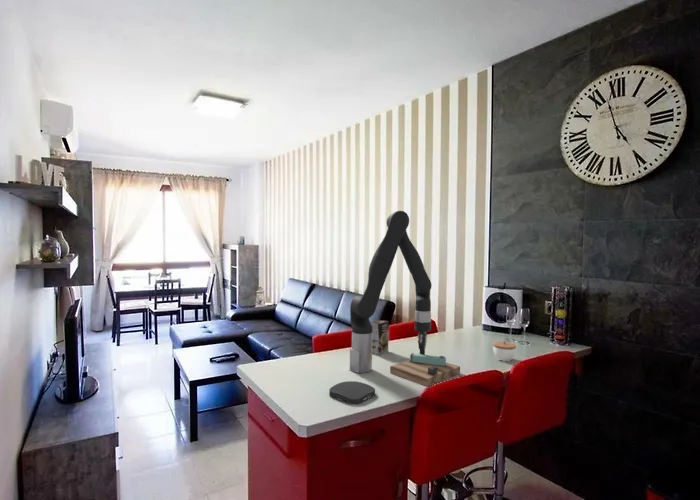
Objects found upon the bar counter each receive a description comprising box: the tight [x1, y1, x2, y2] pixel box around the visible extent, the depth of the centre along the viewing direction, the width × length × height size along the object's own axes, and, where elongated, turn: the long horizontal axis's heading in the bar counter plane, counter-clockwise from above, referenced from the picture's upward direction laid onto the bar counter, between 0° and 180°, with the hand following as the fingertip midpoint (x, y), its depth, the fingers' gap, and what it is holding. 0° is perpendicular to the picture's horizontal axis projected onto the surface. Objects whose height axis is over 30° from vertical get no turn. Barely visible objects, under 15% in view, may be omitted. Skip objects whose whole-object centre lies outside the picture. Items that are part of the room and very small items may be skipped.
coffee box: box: [370, 319, 390, 356], centre depth 202 cm, size 9×6×16 cm
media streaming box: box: [328, 380, 376, 405], centre depth 146 cm, size 15×15×3 cm
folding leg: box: [409, 352, 447, 366], centre depth 176 cm, size 16×3×4 cm, turn 69°
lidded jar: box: [492, 340, 517, 362], centre depth 193 cm, size 11×11×9 cm
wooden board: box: [389, 359, 461, 387], centre depth 171 cm, size 24×20×6 cm
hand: (422, 356), depth 180 cm, fingers closed
